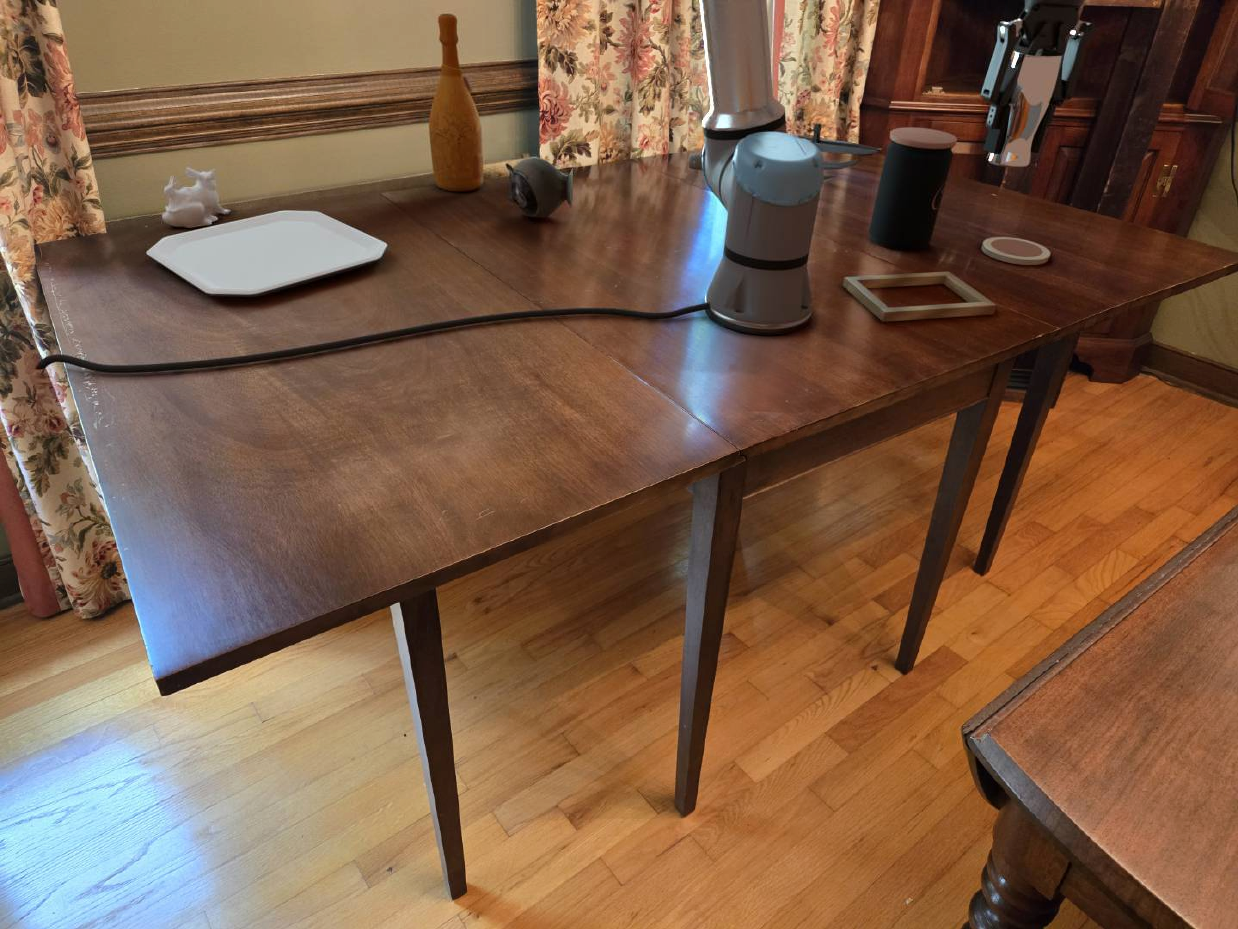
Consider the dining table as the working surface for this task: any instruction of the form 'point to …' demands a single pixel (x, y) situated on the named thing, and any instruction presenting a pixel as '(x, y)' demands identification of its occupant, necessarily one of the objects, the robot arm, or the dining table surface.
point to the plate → (266, 253)
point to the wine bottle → (454, 120)
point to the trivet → (1015, 251)
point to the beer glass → (1026, 107)
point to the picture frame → (972, 308)
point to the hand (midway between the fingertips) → (1010, 150)
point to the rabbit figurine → (193, 201)
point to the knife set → (822, 144)
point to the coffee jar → (911, 188)
